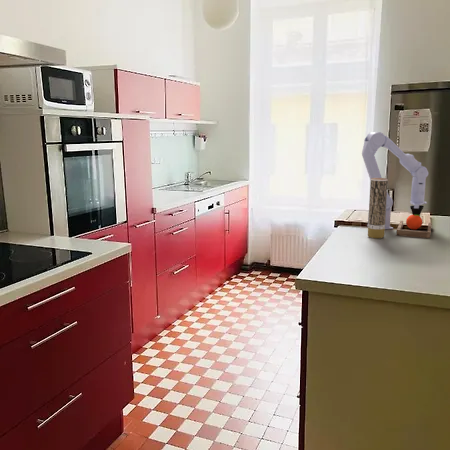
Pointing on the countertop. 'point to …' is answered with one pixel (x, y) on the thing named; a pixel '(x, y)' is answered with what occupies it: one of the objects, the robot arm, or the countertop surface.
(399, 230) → the holder
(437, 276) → the countertop surface
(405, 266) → the countertop surface
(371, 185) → the paper tube
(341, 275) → the countertop surface
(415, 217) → the clementine
